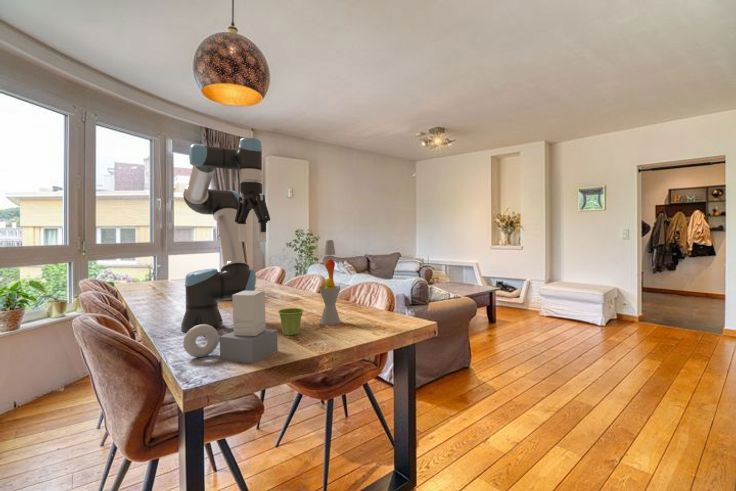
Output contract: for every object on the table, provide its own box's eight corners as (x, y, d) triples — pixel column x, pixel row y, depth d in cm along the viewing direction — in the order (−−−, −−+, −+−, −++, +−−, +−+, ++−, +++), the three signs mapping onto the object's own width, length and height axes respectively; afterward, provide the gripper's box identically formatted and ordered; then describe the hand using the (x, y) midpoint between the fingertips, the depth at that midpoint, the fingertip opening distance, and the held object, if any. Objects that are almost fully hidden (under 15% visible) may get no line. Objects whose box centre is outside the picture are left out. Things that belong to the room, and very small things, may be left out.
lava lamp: (321, 319, 154) (321, 239, 153) (342, 319, 154) (341, 239, 153) (317, 325, 145) (316, 240, 144) (339, 325, 145) (338, 240, 144)
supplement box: (266, 329, 113) (265, 290, 112) (255, 336, 105) (254, 295, 105) (245, 328, 114) (244, 289, 113) (232, 335, 107) (231, 294, 106)
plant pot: (306, 330, 137) (306, 308, 137) (299, 337, 128) (299, 313, 128) (283, 329, 138) (283, 307, 138) (274, 336, 129) (274, 313, 129)
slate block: (220, 359, 106) (219, 336, 106) (247, 347, 117) (247, 326, 117) (252, 364, 102) (252, 340, 102) (277, 351, 113) (277, 330, 113)
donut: (184, 361, 104) (183, 328, 103) (182, 358, 106) (182, 325, 106) (220, 355, 109) (219, 323, 109) (218, 352, 112) (217, 320, 112)
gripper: (280, 179, 121) (280, 241, 121) (243, 186, 138) (244, 241, 138) (260, 177, 115) (261, 242, 116) (224, 184, 132) (225, 241, 133)
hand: (252, 241), depth 127 cm, fingers open, 13 cm apart
